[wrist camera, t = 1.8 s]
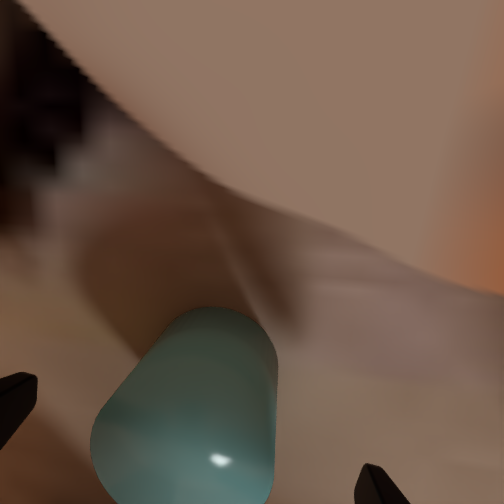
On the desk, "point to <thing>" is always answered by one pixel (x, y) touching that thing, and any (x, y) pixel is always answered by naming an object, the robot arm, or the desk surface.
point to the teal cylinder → (193, 416)
